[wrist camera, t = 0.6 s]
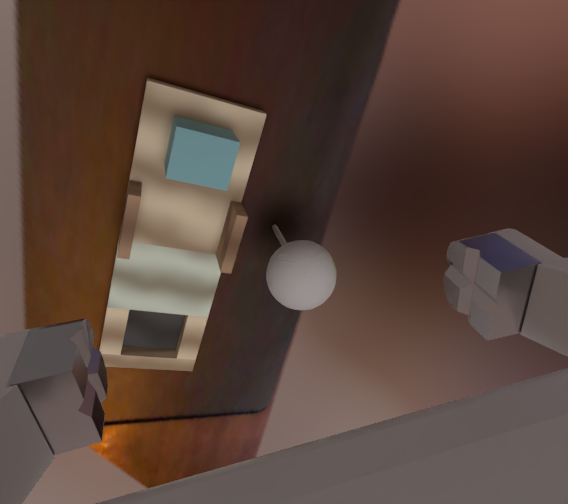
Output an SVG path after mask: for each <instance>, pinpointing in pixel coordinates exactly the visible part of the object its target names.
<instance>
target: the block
mask: <svg viewBox="0 0 568 504" xmlns="http://www.w3.org/2000/svg"><path fill="white" fill-rule="evenodd" d="M239 146H240V141H239V140H238V138H237V137H236V135H235V133H234V132H233V131H232V130H228V129H224V128H220V127H217V126H213V125H209V124H205V123H201V122H197V121H194V120H190V119H186V118H182V117H178V116H175V115H174V118H173V123H172V128H171V133H170V138H169V142H168V147H167V152H166V157H165V162H164V167H165V177H166V178H167V179H172V180H176V181H181V182H186V183H191V184H196V185H200V186H205V187H210V188H215V189H219V190H224V191H227V190H228V186H229V182H230V179H231V175H232V171H233V168H234V164H235V160H236V157H237V153H238V149H239Z"/></svg>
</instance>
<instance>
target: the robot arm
mask: <svg viewBox="0 0 568 504" xmlns="http://www.w3.org/2000/svg"><path fill="white" fill-rule="evenodd" d="M447 259H448V261H449V263H450V264H451V266H450V267H449V269H448V270H447V271H446V273H445V274H444V284H443V287H444V291H445V295H446V298H447V300H448V301H449V303H450V305H451V306H452V307H453V308H454V309H455V310H456V311H458V312H461V313H463V314H466V315H469V324H471V325H472V326H473V327H474V328H475V329H476V330H477V331H478V332H479V333H480V334H481V335H482V336H483V337H484V338H485V339H486V340H492V339H496V338H500V337H505V336H509V335H513V334H518V333H521V335H523V336H525V337H527V338H529V339H531V340H533V341H536V342H538V343H540V344H542V345H544V346H546V347H548V348H550V349H553V350H555V351H557V352H559V353H561V354H563V355H566V356H568V258H562V257H560V256H559V255H557V254H555V253H554V252H552V251H550V250H548V249H547V248H545V247H543V246H542V245H540V244H539V243H537V242H535V241H533V240H532V239H530V238H529V237H526V236H525V235H523V234H522V233H520V232H518V231H517V230H514V229H504V230H500V231H496V232H492V233H489V234H485V235H481V236H477V237H472V238H468V239H464V240H460V241H455V242H451V244H450V246H449V247H448V251H447ZM93 341H94V333H93V330H92V328H91V325H90V323H89V321H88V320H86V319H80V320H74V321H69V322H64V323H59V324H53V325H48V326H43V327H38V328H33V329H27V330H22V331H17V332H13V333H8V334H5V335H3V336H1V337H0V504H22V503H23V502H24V500H25V499H26V497H27V496H28V495H29V493H30V492H31V490H32V489H33V487H34V486H35V485H36V483H37V482H38V481H39V479H40V478H41V476H42V475H43V473H44V472H45V471H46V469H47V468H48V466H49V465H50V464H51V462H52V461H53V459H54V458H55V457H54V455H57V454H61V453H64V452H67V451H71V450H74V449H78V448H81V447H85V446H88V445H92V444H95V443H99V442H102V435H103V426H104V417H105V413H104V410H103V408H102V405H101V403H102V401H103V400H104V399H105V398H106V397H107V386H108V385H107V372H106V368H105V363H104V360H103V357H102V354H101V351H99V350H97V349H96V348H94V347H93ZM96 504H568V368H567V369H563V370H560V371H556V372H553V373H549V374H546V375H542V376H539V377H535V378H532V379H528V380H525V381H521V382H518V383H514V384H510V385H507V386H503V387H500V388H496V389H493V390H489V391H486V392H483V393H479V394H475V395H472V396H468V397H465V398H461V399H458V400H454V401H451V402H447V403H444V404H440V405H437V406H433V407H430V408H426V409H423V410H419V411H416V412H412V413H409V414H406V415H402V416H399V417H395V418H392V419H388V420H385V421H381V422H378V423H374V424H371V425H368V426H364V427H360V428H357V429H353V430H350V431H347V432H343V433H340V434H337V435H333V436H329V437H326V438H323V439H319V440H315V441H312V442H308V443H305V444H301V445H298V446H295V447H292V448H288V449H284V450H281V451H277V452H274V453H271V454H267V455H263V456H260V457H256V458H253V459H249V460H246V461H242V462H239V463H235V464H232V465H228V466H225V467H222V468H218V469H215V470H211V471H208V472H204V473H201V474H197V475H194V476H190V477H187V478H183V479H180V480H176V481H173V482H169V483H166V484H162V485H159V486H155V487H152V488H148V489H145V490H142V491H138V492H135V493H131V494H128V495H124V496H121V497H117V498H114V499H110V500H107V501H103V502H100V503H96Z"/></svg>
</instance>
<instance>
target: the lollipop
mask: <svg viewBox="0 0 568 504" xmlns="http://www.w3.org/2000/svg"><path fill="white" fill-rule="evenodd" d="M272 229H273V231H274V233H275V235H276V236H277V238H278V240H279V242H280V244H281V247H280V248H279V249H278V250H277V251H276V252H275V253H274V254H273V255H272V257H271V259H270V261H269V263H268V267H267V273H266V280H267V283H268V287H269V290H270V292H271V293H272V295H273V296H274V297H275V299H276V300H277V301H279V302H280V303H281V304H282V305H284V306H286V307H288V308H291V309H295V310H309V309H312V308H315V307H317V306H319V305H321V304H322V303H323V302H325V301H326V300H327V299H328V298H329V296H330V295H331V293H332V291H333V289H334V287H335V284H336V267H335V264H334V261H333V259H332V257H331V256H330V254H329V253H328V252H327V251H326V250H325V249H324V248H323V247H322V246H321V245H318V244H316V243H314V242H312V241H308V240H297V241H292V242H289V243H287V242H286V241H285V239H284V237H283V235H282V234H281V232H280V230H279V228H278V227H277V225H275V224H274V225H273V226H272Z"/></svg>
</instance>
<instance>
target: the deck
mask: <svg viewBox="0 0 568 504" xmlns="http://www.w3.org/2000/svg"><path fill="white" fill-rule="evenodd" d="M174 115H175V116H178V117H182V118H186V119H190V120H194V121H197V122H201V123H205V124H209V125H213V126H217V127H220V128H224V129H228V130H232V131H233V132H234V133H235V135H236V137H237V138H238V140H239V141H240V146H239V149H238V153H237V157H236V160H235V164H234V168H233V171H232V175H231V179H230V182H229V186H228V190H227V191H224V190H219V189H215V188H210V187H205V186H200V185H196V184H191V183H186V182H181V181H176V180H172V179H167V178H166V177H165V167H164V162H165V157H166V152H167V147H168V142H169V138H170V133H171V128H172V123H173V118H174ZM266 115H267V114H266V113H265V112H264V111H263V110H259V109H256V108H252V107H249V106H245V105H242V104H238V103H235V102H231V101H228V100H224V99H221V98H217V97H214V96H210V95H207V94H204V93H200V92H197V91H193V90H190V89H186V88H183V87H179V86H176V85H172V84H169V83H165V82H162V81H158V80H155V79H151V78H148V77H147V81H146V87H145V93H144V98H143V104H142V110H141V115H140V121H139V127H138V132H137V138H136V144H135V150H134V155H133V161H132V167H131V172H130V178H129V184H128V189H127V195H126V201H125V206H124V212H123V218H122V224H121V229H120V235H119V241H118V246H117V252H116V258H115V263H114V269H113V275H112V280H111V286H110V292H109V298H108V303H107V309H106V315H105V320H104V326H103V332H102V337H101V343H100V349H99V351H101V354H102V357H103V360H104V363H105V367H123V368H142V369H161V370H180V371H192V370H193V367H194V363H195V360H196V356H197V353H198V350H199V346H200V343H201V339H202V336H203V332H204V329H205V325H206V322H207V319H208V315H209V312H210V308H211V305H212V301H213V298H214V294H215V291H216V288H217V284H218V281H219V277H220V274H221V272H223V273H230V274H231V272H232V268H233V265H234V262H235V258H236V255H237V252H238V249H239V245H240V242H241V239H242V235H243V232H244V229H245V225H246V222H247V219H248V216H247V214H246V212H245V210H244V207H243V205H242V203H241V201H242V198H243V195H244V191H245V188H246V184H247V181H248V177H249V174H250V170H251V167H252V164H253V160H254V157H255V153H256V150H257V146H258V143H259V139H260V136H261V133H262V129H263V126H264V122H265V119H266Z"/></svg>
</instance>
